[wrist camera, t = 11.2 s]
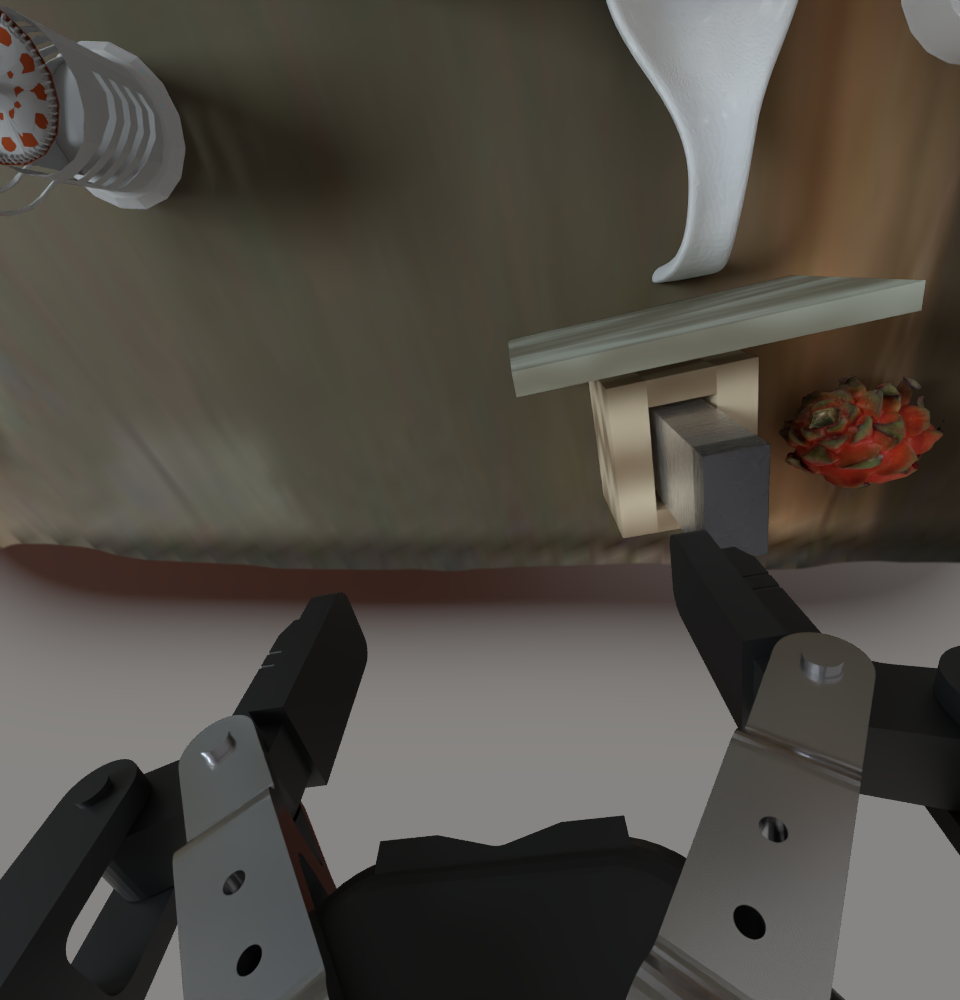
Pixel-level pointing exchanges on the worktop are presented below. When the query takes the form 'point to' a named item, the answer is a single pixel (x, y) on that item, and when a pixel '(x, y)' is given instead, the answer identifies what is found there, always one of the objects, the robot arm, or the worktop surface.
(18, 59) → the french press
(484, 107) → the worktop surface
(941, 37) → the honey pot
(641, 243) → the worktop surface
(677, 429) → the brushed steel bar
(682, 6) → the spoon rest
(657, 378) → the small shelf
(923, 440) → the dragon fruit
